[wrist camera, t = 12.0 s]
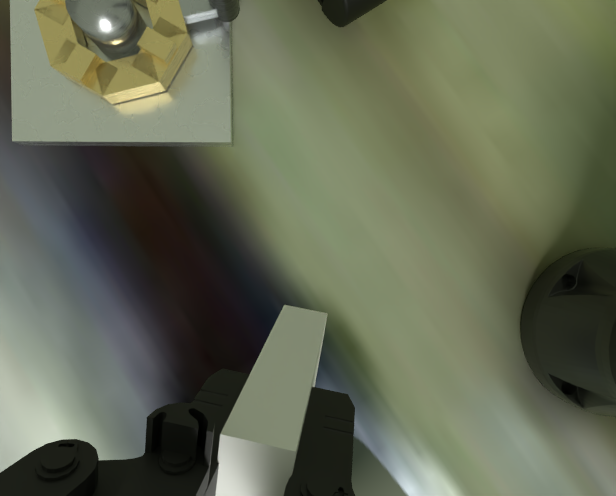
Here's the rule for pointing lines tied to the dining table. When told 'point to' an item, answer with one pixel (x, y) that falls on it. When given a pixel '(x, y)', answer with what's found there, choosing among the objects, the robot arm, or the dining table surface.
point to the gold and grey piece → (134, 69)
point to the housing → (128, 114)
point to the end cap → (347, 10)
